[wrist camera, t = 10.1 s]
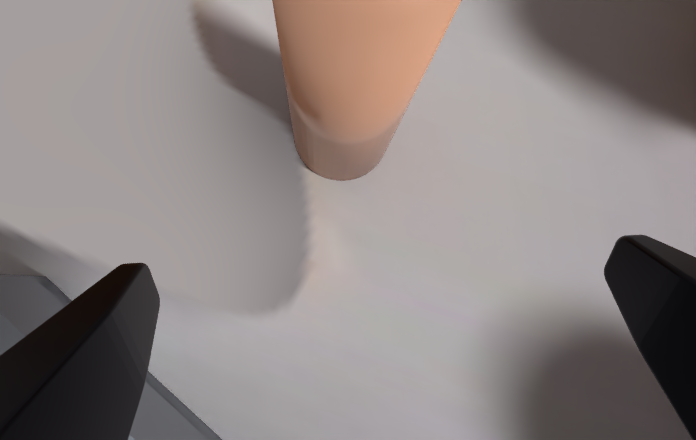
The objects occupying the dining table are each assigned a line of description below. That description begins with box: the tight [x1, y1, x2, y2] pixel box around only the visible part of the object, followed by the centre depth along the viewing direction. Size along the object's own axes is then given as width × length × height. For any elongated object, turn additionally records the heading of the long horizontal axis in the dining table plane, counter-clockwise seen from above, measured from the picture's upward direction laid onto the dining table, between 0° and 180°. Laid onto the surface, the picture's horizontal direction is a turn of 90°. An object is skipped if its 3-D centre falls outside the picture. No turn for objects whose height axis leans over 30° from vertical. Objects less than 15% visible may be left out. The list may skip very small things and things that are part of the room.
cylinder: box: [272, 0, 461, 181], centre depth 16 cm, size 5×5×14 cm
